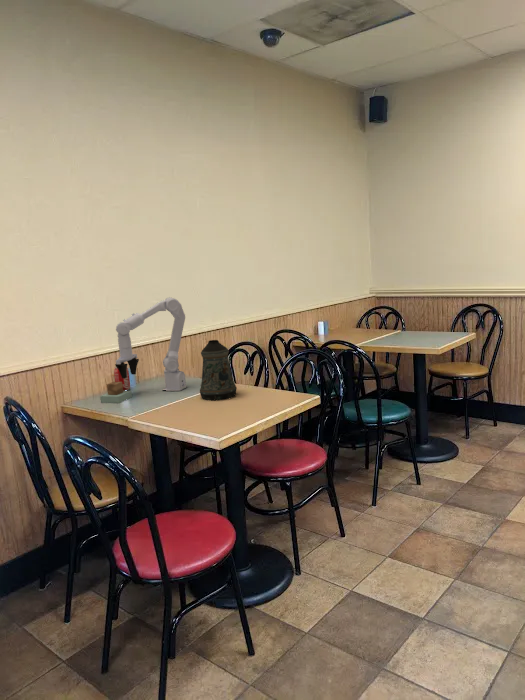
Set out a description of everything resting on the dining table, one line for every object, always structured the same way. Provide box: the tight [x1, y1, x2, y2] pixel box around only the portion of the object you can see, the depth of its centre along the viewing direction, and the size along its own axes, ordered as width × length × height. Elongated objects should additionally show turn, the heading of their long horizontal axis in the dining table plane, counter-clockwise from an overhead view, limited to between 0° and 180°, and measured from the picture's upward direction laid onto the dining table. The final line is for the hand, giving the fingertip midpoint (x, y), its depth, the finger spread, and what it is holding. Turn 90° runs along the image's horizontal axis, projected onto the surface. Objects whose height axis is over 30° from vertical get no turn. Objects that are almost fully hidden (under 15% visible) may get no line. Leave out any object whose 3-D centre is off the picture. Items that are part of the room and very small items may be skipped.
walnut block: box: [106, 381, 123, 395], centre depth 255 cm, size 5×5×5 cm
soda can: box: [113, 366, 131, 391], centre depth 274 cm, size 7×7×12 cm
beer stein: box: [199, 339, 238, 402], centre depth 248 cm, size 16×19×25 cm
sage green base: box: [99, 390, 133, 404], centre depth 256 cm, size 10×10×3 cm
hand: (129, 376), depth 262 cm, fingers open, 7 cm apart
